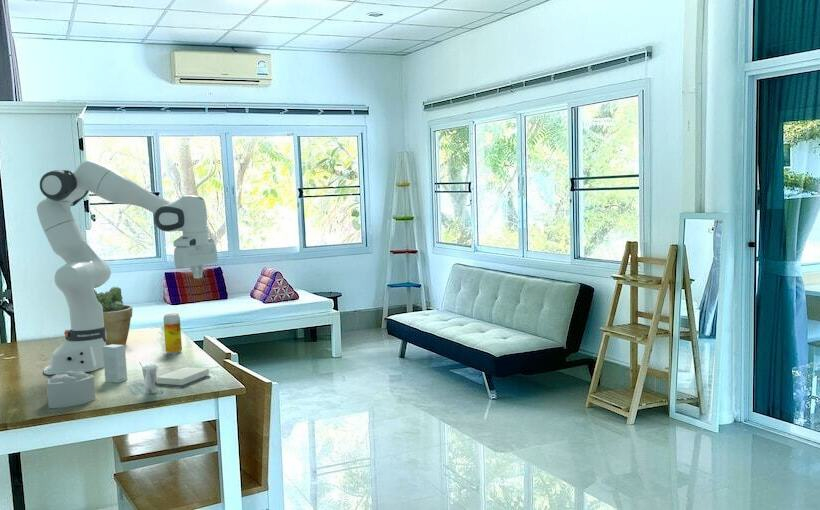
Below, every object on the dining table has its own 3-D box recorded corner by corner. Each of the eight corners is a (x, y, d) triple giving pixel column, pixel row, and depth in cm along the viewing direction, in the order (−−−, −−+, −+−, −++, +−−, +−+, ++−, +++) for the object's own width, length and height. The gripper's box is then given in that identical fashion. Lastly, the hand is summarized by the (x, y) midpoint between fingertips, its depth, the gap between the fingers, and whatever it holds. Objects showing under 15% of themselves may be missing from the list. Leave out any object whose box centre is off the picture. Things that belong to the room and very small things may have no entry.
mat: (181, 374, 255) (181, 373, 255) (210, 376, 250) (210, 375, 250) (152, 385, 242) (152, 384, 242) (182, 387, 237) (182, 386, 237)
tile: (184, 367, 255) (156, 377, 242) (208, 368, 251) (181, 379, 238) (184, 373, 255) (156, 383, 242) (209, 375, 251) (181, 386, 238)
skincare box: (127, 379, 250) (125, 344, 249) (118, 383, 246) (115, 347, 245) (114, 378, 253) (111, 343, 251) (104, 381, 249) (101, 346, 248)
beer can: (177, 354, 287) (174, 316, 286) (162, 354, 289) (160, 316, 287) (184, 350, 293) (182, 313, 292) (170, 350, 294) (168, 313, 293)
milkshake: (143, 391, 235) (141, 360, 234) (160, 390, 235) (158, 359, 234) (139, 395, 230) (137, 363, 229) (157, 394, 231) (155, 362, 230)
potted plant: (118, 339, 322) (114, 282, 320) (144, 343, 311) (140, 284, 309) (78, 347, 307) (74, 287, 305) (104, 352, 296) (99, 290, 294)
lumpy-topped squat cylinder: (48, 400, 228) (46, 373, 227) (94, 394, 233) (92, 367, 233) (48, 409, 218) (46, 380, 218) (96, 402, 224) (94, 374, 223)
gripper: (206, 237, 279) (208, 274, 280) (169, 242, 260) (172, 281, 261) (220, 237, 276) (222, 274, 277) (184, 242, 257) (187, 281, 259)
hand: (198, 278), depth 269 cm, fingers closed
